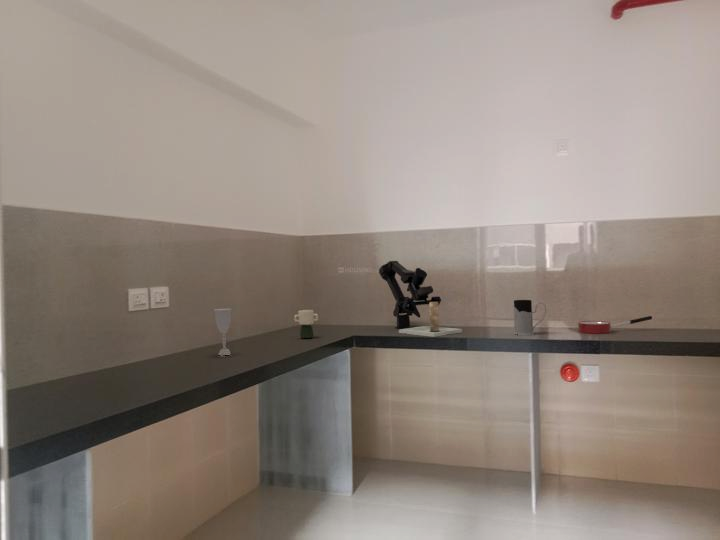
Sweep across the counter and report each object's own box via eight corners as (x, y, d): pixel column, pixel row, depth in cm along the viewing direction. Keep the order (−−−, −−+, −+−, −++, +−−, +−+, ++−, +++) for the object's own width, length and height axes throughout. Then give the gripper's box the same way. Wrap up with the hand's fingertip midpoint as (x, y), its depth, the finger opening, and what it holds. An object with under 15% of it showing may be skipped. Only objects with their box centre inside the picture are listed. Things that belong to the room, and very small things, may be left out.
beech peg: (428, 335, 244) (427, 302, 244) (432, 333, 247) (431, 301, 247) (437, 335, 242) (435, 302, 242) (440, 334, 245) (439, 301, 245)
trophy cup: (318, 336, 252) (317, 309, 252) (319, 338, 245) (318, 310, 245) (294, 337, 251) (293, 310, 251) (295, 340, 244) (294, 311, 244)
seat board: (399, 332, 256) (398, 329, 256) (426, 328, 267) (426, 325, 267) (433, 336, 238) (433, 333, 238) (462, 332, 249) (461, 329, 249)
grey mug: (512, 332, 241) (511, 299, 241) (545, 332, 238) (544, 299, 238) (514, 335, 233) (513, 301, 232) (548, 335, 230) (547, 300, 230)
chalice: (217, 354, 211) (215, 308, 211) (234, 353, 212) (233, 308, 212) (214, 357, 204) (212, 310, 204) (232, 356, 205) (230, 309, 204)
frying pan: (638, 327, 244) (638, 314, 244) (657, 331, 231) (657, 316, 231) (572, 331, 240) (572, 317, 240) (588, 335, 227) (587, 320, 227)
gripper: (404, 281, 251) (416, 306, 241) (438, 279, 258) (451, 304, 248) (397, 297, 258) (408, 322, 248) (431, 295, 265) (443, 319, 255)
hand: (428, 316), depth 250 cm, fingers open, 9 cm apart
